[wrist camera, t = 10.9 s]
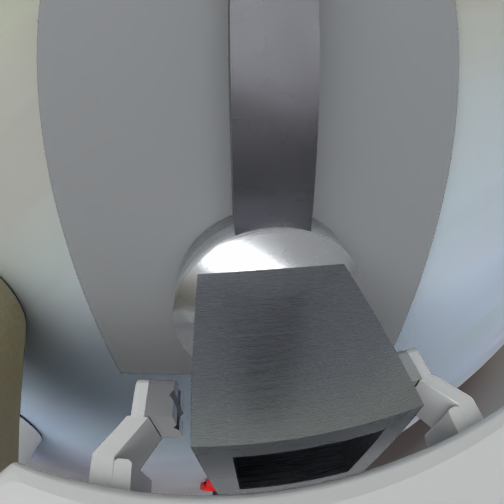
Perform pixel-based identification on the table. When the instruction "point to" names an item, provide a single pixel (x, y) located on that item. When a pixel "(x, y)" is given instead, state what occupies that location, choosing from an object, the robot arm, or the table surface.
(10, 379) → the plant pot
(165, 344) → the mat
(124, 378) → the table surface
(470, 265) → the table surface
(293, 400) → the hollow square tube
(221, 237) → the ratchet
